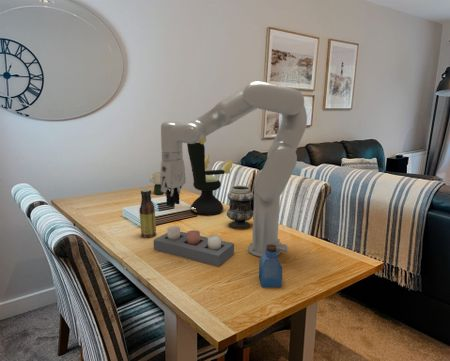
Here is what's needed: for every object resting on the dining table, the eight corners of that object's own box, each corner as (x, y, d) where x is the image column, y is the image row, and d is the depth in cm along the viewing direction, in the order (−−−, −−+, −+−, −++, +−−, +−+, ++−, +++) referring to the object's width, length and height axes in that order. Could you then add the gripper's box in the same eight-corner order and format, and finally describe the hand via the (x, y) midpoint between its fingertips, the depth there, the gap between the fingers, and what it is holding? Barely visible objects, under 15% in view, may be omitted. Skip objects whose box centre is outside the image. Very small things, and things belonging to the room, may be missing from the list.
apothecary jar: (256, 223, 159) (258, 186, 155) (246, 232, 149) (247, 192, 145) (233, 219, 165) (234, 183, 161) (221, 227, 154) (222, 188, 150)
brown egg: (202, 243, 129) (202, 231, 128) (195, 248, 125) (195, 236, 124) (191, 241, 131) (191, 229, 130) (184, 245, 127) (184, 233, 126)
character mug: (165, 191, 214) (165, 171, 211) (169, 194, 208) (169, 173, 205) (148, 193, 209) (147, 172, 206) (152, 196, 203) (151, 174, 200)
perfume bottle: (277, 277, 111) (279, 242, 108) (281, 287, 105) (283, 250, 102) (258, 277, 111) (260, 242, 108) (261, 287, 105) (262, 250, 102)
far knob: (182, 239, 133) (182, 227, 132) (175, 243, 129) (175, 231, 128) (172, 236, 135) (172, 225, 134) (165, 241, 131) (164, 229, 130)
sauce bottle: (149, 231, 148) (148, 186, 144) (159, 235, 144) (158, 189, 140) (137, 235, 143) (135, 189, 139) (146, 239, 139) (145, 192, 135)
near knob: (223, 248, 125) (223, 236, 124) (217, 253, 121) (217, 241, 120) (212, 246, 127) (212, 234, 126) (205, 250, 123) (205, 238, 122)
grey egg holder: (234, 253, 128) (234, 243, 127) (218, 266, 117) (218, 255, 116) (172, 238, 140) (172, 229, 139) (153, 249, 130) (153, 239, 129)
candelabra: (232, 211, 177) (234, 123, 167) (201, 221, 161) (201, 124, 151) (207, 203, 190) (207, 121, 180) (176, 212, 174) (174, 122, 164)
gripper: (166, 160, 116) (168, 212, 120) (192, 154, 130) (193, 200, 134) (149, 158, 120) (151, 208, 124) (176, 152, 134) (177, 198, 138)
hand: (173, 204), depth 129 cm, fingers closed
